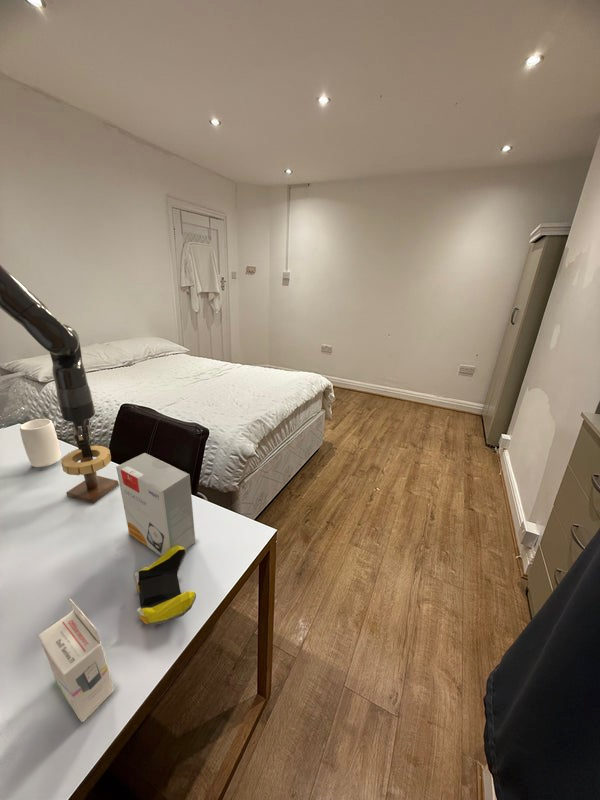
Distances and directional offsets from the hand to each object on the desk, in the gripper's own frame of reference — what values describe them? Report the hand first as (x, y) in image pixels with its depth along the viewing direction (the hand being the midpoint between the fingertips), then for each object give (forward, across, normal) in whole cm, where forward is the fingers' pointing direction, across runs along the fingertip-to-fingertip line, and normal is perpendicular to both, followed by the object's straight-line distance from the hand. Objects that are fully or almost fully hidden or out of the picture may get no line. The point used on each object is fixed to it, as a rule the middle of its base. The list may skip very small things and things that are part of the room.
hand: (88, 455), depth 93 cm
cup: (+9, -18, -14) cm, 24 cm away
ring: (0, +4, 0) cm, 4 cm away
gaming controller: (+10, +48, +13) cm, 50 cm away
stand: (+9, +4, 0) cm, 10 cm away
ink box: (+9, +58, 0) cm, 59 cm away
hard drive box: (+10, +32, +15) cm, 36 cm away
